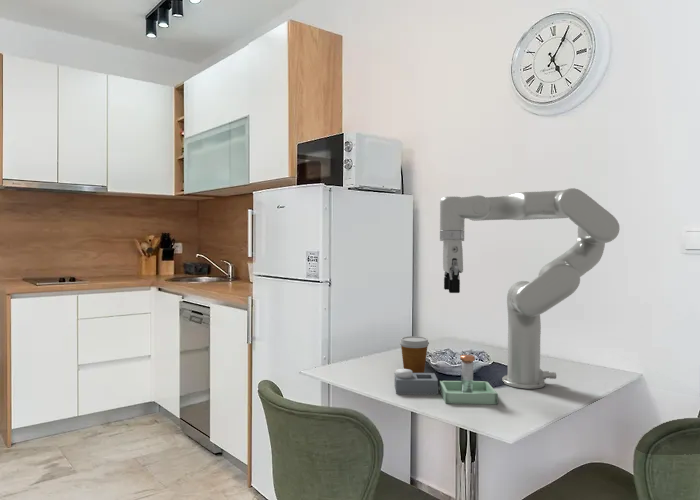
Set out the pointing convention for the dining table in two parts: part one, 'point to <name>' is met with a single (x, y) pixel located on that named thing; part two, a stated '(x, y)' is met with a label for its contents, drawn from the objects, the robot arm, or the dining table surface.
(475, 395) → the tray
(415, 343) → the disposable coffee cup
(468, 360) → the pin
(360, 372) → the dining table surface
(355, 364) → the dining table surface
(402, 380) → the block
